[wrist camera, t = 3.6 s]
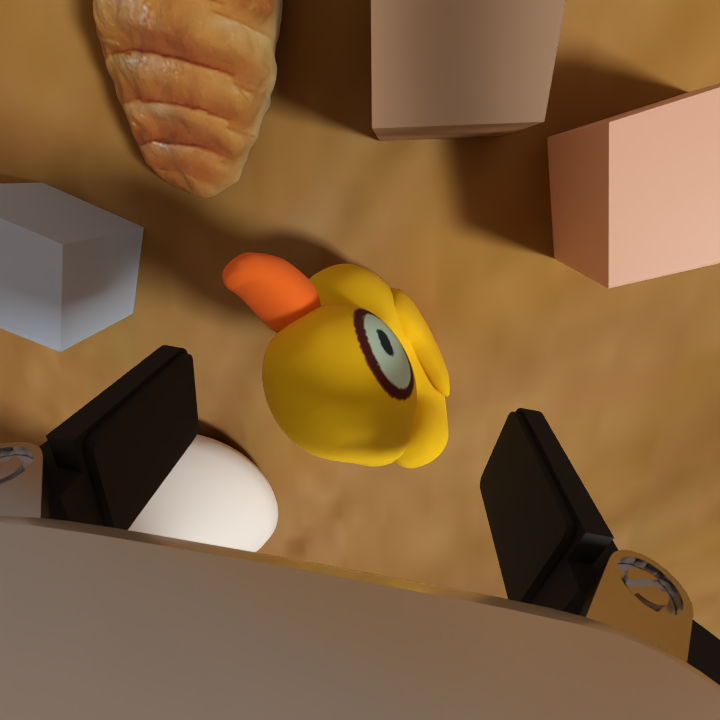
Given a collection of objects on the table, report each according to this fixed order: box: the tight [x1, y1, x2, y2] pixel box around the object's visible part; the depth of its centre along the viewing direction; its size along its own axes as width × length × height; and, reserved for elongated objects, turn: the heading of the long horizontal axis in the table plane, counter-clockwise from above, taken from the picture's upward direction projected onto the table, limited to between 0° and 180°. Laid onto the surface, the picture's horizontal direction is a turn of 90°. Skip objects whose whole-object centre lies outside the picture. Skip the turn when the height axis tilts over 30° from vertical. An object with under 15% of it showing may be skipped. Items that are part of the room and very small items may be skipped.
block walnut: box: [371, 0, 566, 141], centre depth 12 cm, size 5×5×5 cm
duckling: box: [222, 252, 450, 468], centre depth 15 cm, size 11×5×10 cm, turn 34°
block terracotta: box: [547, 84, 720, 288], centre depth 13 cm, size 5×5×5 cm
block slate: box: [0, 182, 144, 352], centre depth 17 cm, size 5×5×5 cm
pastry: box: [93, 0, 283, 198], centre depth 13 cm, size 9×7×4 cm
